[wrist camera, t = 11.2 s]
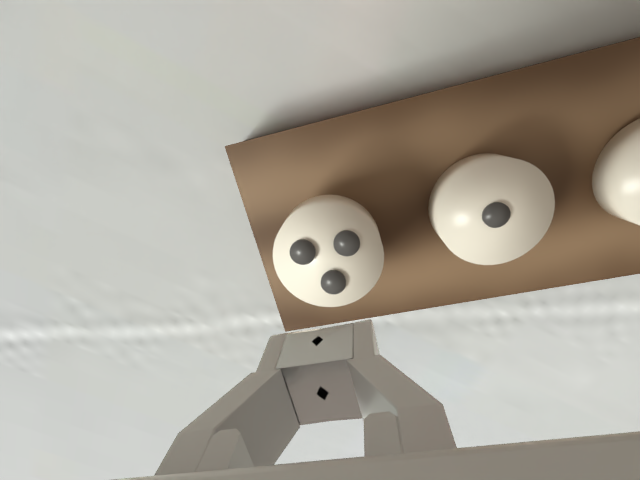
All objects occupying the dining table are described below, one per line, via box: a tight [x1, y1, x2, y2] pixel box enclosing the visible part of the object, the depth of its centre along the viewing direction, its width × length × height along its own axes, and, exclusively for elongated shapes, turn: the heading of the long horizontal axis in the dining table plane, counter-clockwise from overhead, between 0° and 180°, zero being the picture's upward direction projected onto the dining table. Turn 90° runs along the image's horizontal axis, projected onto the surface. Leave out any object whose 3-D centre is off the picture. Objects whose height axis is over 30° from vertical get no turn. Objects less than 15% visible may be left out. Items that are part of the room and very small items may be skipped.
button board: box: [225, 37, 640, 331], centre depth 19 cm, size 12×25×3 cm, turn 104°
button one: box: [428, 153, 555, 265], centre depth 16 cm, size 5×5×2 cm
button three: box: [273, 195, 384, 307], centre depth 16 cm, size 5×5×2 cm
